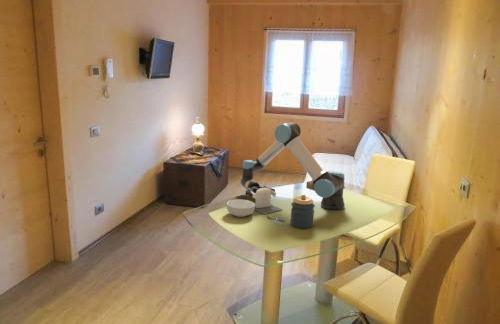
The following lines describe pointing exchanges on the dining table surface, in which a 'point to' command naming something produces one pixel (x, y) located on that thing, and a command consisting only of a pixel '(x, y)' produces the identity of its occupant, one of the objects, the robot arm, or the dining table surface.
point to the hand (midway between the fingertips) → (265, 195)
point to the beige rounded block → (263, 198)
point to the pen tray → (310, 184)
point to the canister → (302, 212)
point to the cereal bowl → (240, 207)
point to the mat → (267, 209)
